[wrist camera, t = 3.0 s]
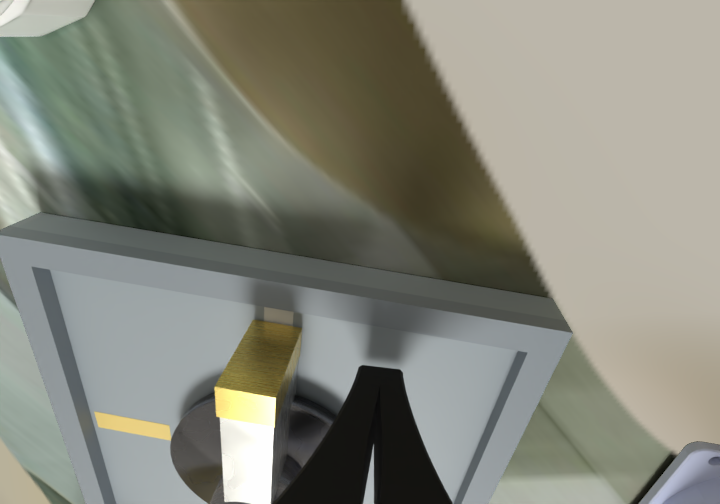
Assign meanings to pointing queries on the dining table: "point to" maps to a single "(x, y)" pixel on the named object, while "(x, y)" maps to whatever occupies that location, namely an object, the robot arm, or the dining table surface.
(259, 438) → the dial
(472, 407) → the dial plate
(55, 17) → the white cup
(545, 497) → the dining table surface
